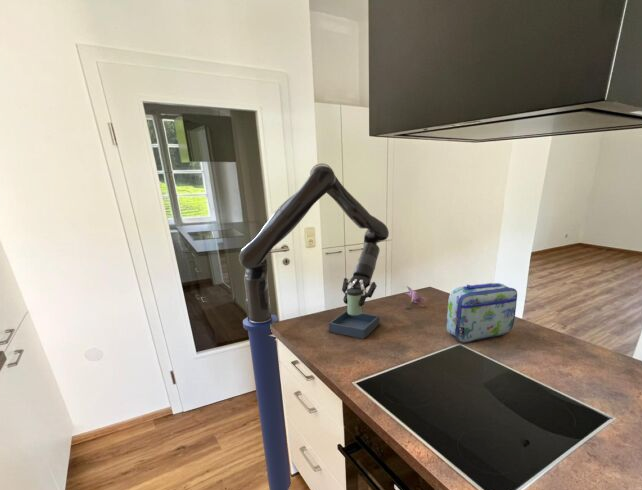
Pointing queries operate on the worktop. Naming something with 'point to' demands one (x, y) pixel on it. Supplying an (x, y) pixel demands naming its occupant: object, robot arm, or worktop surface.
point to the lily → (415, 297)
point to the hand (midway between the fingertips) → (352, 304)
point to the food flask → (354, 301)
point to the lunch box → (481, 311)
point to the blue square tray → (354, 324)
